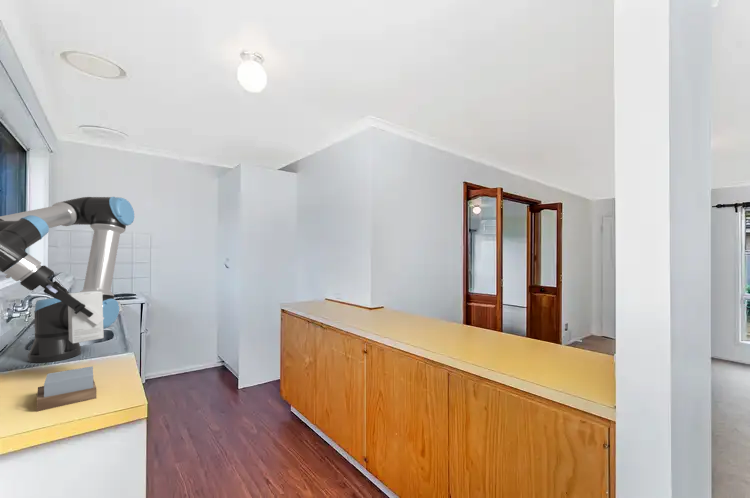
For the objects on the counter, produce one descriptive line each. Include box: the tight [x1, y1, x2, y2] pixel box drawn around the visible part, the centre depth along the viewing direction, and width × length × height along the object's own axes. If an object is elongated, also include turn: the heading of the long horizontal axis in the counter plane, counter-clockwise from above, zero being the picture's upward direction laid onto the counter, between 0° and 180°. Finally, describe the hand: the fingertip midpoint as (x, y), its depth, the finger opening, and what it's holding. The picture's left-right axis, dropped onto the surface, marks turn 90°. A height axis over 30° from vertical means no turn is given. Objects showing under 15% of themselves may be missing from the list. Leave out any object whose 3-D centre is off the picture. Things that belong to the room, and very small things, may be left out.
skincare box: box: [68, 291, 105, 344], centre depth 114 cm, size 8×7×16 cm
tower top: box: [43, 365, 94, 397], centre depth 99 cm, size 10×10×4 cm
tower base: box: [36, 378, 97, 413], centre depth 98 cm, size 12×12×4 cm
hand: (99, 319), depth 117 cm, fingers closed on skincare box, 7 cm apart
